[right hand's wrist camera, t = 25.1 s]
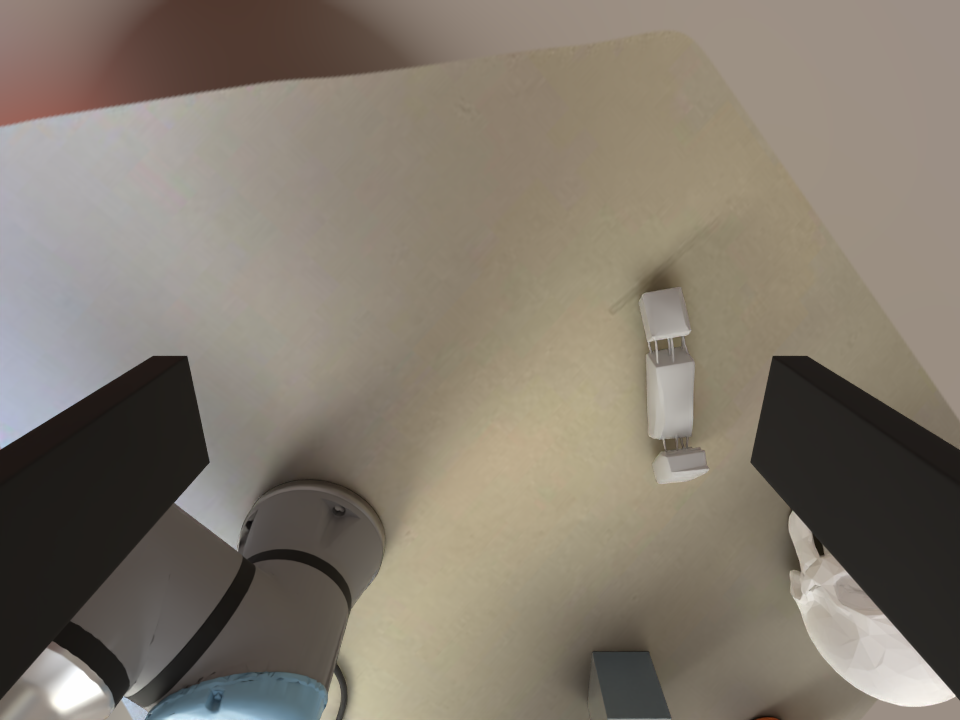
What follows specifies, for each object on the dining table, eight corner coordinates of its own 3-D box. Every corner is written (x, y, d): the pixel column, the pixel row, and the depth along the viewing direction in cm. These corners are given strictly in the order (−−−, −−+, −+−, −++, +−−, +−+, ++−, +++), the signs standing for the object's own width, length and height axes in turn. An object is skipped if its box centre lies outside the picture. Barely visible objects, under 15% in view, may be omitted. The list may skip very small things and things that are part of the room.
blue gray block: (648, 651, 65) (671, 718, 58) (641, 702, 69) (661, 773, 61) (592, 651, 65) (607, 718, 58) (586, 703, 69) (600, 773, 61)
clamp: (687, 471, 55) (714, 506, 49) (651, 477, 56) (673, 512, 49) (671, 281, 50) (699, 291, 44) (631, 288, 50) (653, 299, 44)
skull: (883, 440, 55) (1026, 549, 40) (905, 595, 62) (1033, 735, 47) (752, 479, 57) (841, 595, 42) (788, 624, 64) (874, 766, 49)
